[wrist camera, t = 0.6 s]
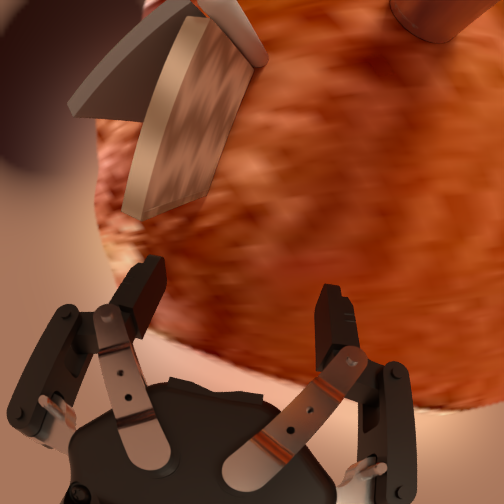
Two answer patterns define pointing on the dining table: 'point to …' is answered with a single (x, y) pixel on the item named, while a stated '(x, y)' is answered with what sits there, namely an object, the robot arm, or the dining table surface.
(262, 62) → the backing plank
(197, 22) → the ash plank
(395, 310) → the dining table surface
